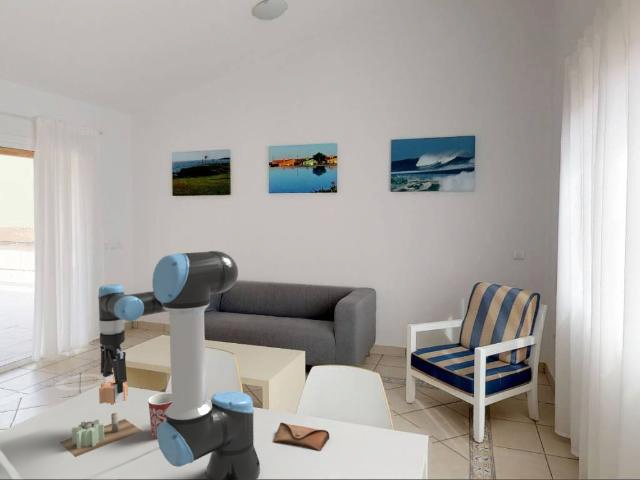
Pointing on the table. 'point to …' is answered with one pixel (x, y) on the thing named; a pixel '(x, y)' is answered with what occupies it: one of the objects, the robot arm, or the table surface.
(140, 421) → the table surface
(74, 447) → the gear board
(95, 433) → the gear
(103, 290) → the robot arm
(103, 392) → the gear
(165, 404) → the mug
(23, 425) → the table surface
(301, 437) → the sunglasses case
